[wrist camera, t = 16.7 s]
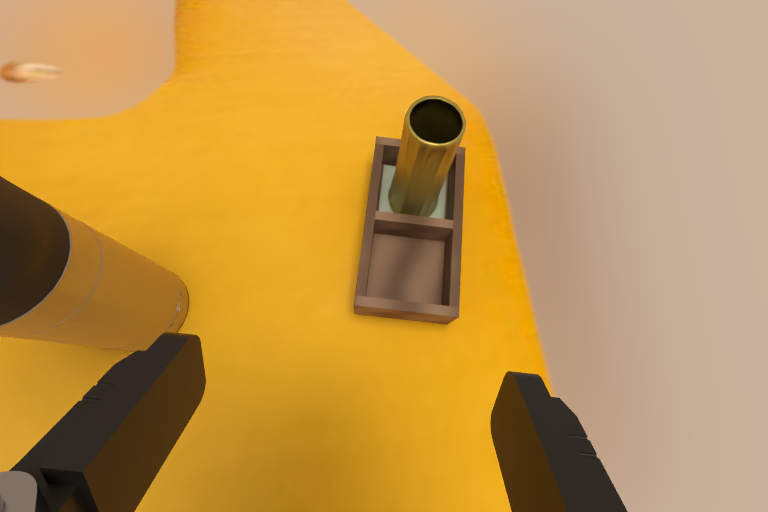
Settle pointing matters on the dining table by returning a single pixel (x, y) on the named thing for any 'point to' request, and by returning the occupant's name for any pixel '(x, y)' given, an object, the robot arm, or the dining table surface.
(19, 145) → the dining table surface
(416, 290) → the wooden compartment tray
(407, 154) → the vase
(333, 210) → the dining table surface
